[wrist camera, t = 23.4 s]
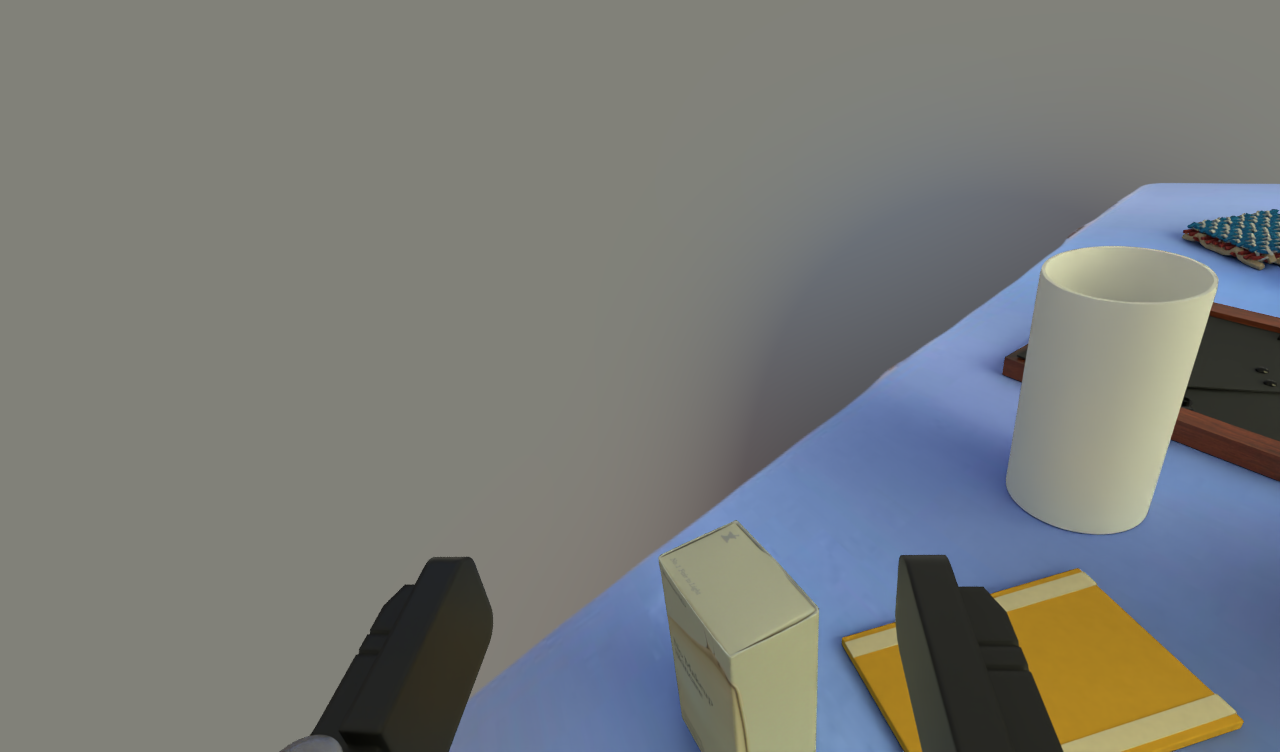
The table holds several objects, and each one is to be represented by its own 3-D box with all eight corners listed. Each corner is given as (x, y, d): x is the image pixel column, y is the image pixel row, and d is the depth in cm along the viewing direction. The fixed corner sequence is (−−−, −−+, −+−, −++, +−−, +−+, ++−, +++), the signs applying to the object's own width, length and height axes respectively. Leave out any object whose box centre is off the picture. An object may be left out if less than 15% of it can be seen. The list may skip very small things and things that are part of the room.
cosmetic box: (680, 718, 36) (649, 553, 30) (751, 680, 37) (735, 514, 31) (745, 831, 31) (724, 659, 25) (824, 781, 32) (822, 607, 26)
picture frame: (1002, 374, 59) (1402, 528, 40) (1005, 354, 58) (1416, 502, 39) (1128, 299, 67) (1513, 397, 47) (1133, 280, 66) (1527, 372, 46)
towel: (1076, 574, 40) (1078, 566, 40) (1241, 728, 31) (1245, 720, 31) (841, 644, 38) (841, 636, 38) (947, 827, 30) (949, 819, 29)
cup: (1007, 446, 51) (1039, 244, 43) (1140, 465, 47) (1203, 247, 39) (1004, 519, 44) (1041, 299, 36) (1156, 547, 41) (1235, 308, 33)
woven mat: (1174, 239, 77) (1179, 221, 76) (1266, 223, 77) (1272, 206, 76) (1254, 271, 68) (1260, 252, 67) (1358, 254, 68) (1366, 235, 67)
